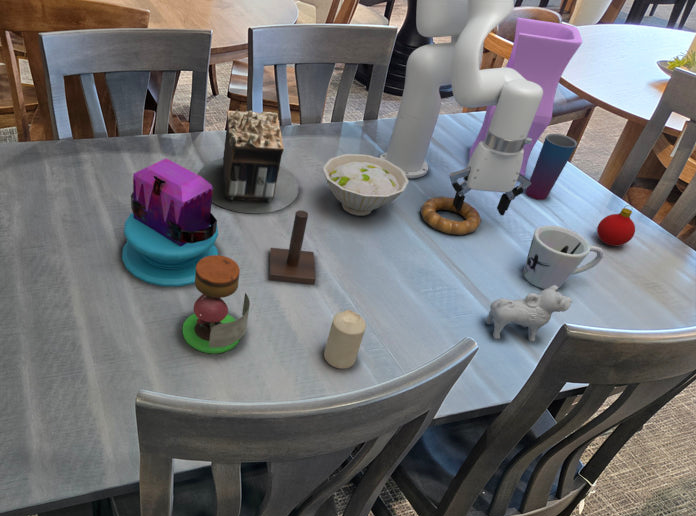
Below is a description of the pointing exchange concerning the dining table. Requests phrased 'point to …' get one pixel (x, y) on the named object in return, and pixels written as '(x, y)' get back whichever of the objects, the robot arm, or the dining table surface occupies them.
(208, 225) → the decorative object
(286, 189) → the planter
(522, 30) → the container
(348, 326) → the candle
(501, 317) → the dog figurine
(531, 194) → the cup
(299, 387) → the dining table surface
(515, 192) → the robot arm
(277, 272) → the post
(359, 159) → the bowl
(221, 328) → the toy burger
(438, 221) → the ring
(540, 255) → the mug
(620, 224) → the christmas ornament
